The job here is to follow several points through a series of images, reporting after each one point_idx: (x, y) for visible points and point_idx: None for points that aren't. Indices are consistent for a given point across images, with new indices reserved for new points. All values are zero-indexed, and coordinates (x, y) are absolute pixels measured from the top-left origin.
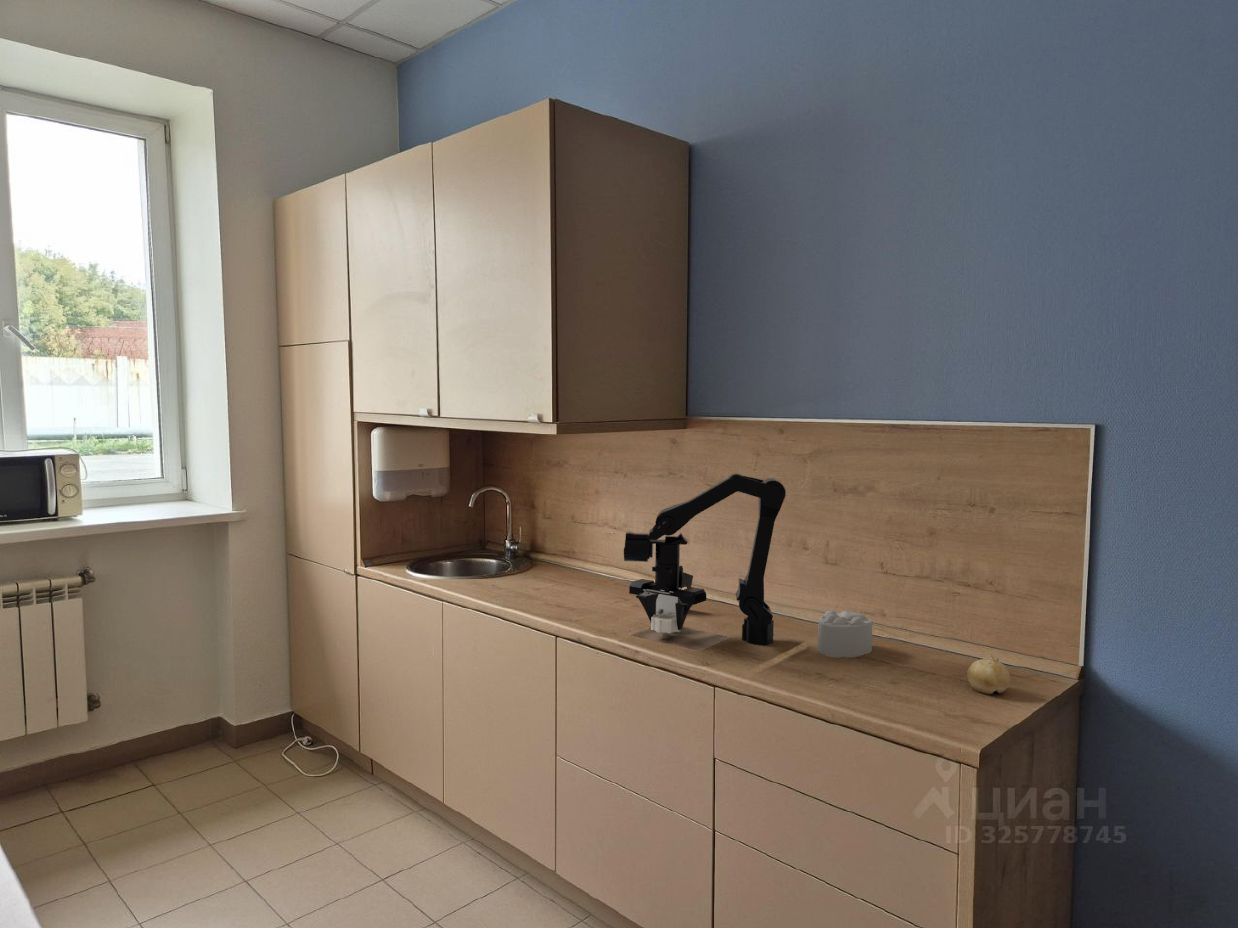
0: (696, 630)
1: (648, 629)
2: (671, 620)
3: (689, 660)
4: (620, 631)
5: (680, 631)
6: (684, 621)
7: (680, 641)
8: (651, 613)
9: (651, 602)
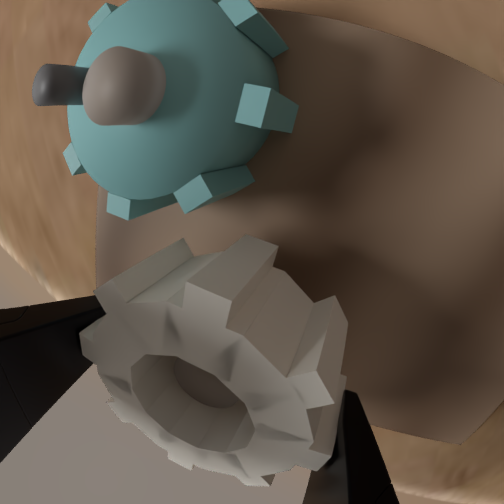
0: (403, 45)
1: None
2: (265, 472)
3: (408, 475)
4: (45, 195)
5: (295, 115)
6: (375, 440)
7: (359, 360)
8: (73, 369)
9: (5, 398)
